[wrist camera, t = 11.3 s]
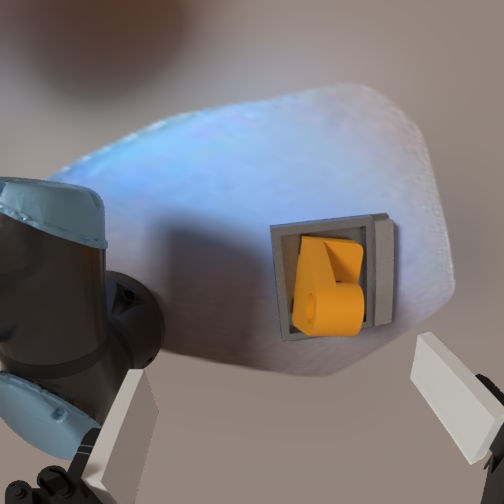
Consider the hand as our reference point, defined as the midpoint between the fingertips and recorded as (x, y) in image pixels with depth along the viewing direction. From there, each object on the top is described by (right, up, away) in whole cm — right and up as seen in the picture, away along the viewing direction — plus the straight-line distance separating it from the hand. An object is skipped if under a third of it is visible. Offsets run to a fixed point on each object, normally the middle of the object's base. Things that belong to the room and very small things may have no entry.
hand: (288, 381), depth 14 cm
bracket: (+7, +3, +26) cm, 27 cm away
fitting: (+8, +3, +27) cm, 28 cm away
